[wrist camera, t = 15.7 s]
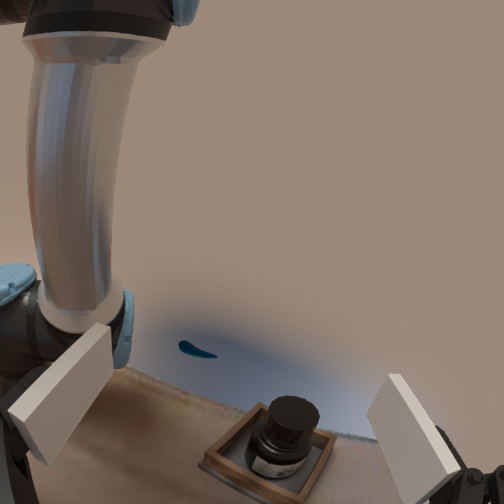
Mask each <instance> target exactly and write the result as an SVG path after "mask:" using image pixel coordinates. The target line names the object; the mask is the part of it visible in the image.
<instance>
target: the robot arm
mask: <svg viewBox="0 0 504 504" xmlns="http://www.w3.org/2000/svg"><path fill="white" fill-rule="evenodd" d="M199 1H200V0H0V25H8V24H14V23H23V22H26V25H25V29H24V33H23V37H22V40H21V42H22V43H23V45H24V46H25V47H26V48H27V50H28V51H29V52H30V53H31V55H32V56H33V59H34V62H35V63H34V69H33V75H32V80H31V87H30V96H29V104H28V116H27V137H26V138H27V139H26V165H27V184H28V197H29V206H30V215H31V223H32V229H33V235H34V241H35V246H36V251H37V256H38V261H39V265H40V270H41V274H42V278H43V279H42V281H41V280H37V279H36V278H37V273H36V272H35V269H34V268H33V266H30V265H29V264H25V263H10V264H4V265H0V504H39V501H38V498H37V495H36V491H35V488H34V484H33V480H32V476H31V472H30V467H29V462H28V458H27V455H26V453H27V452H28V450H30V451H31V453H32V455H33V456H34V458H36V459H37V460H39V461H41V462H42V463H44V464H45V465H47V466H49V467H51V466H52V464H53V462H54V461H55V459H56V458H57V456H58V454H59V453H60V451H61V450H62V448H63V447H64V445H65V444H66V442H67V440H68V439H69V437H70V436H71V434H72V433H73V431H74V430H75V428H76V427H77V425H78V424H79V422H80V421H81V419H82V418H83V416H84V415H85V413H86V412H87V410H88V409H89V408H90V406H91V405H92V403H93V402H94V400H95V399H96V397H97V396H98V395H99V393H100V392H101V390H102V389H103V387H104V386H105V385H106V383H107V382H108V380H109V379H110V378H111V376H112V375H113V373H114V369H121V368H123V367H125V366H126V365H127V363H128V361H129V357H130V352H131V344H132V340H131V337H132V333H133V322H134V296H133V293H132V292H131V291H129V290H126V289H124V288H122V283H121V281H120V279H119V278H118V276H117V275H116V274H115V272H114V271H113V270H112V269H111V241H112V240H111V239H112V217H113V203H114V190H115V181H116V173H117V164H118V157H119V150H120V143H121V137H122V132H123V127H124V121H125V116H126V111H127V106H128V102H129V98H130V93H131V89H132V85H133V81H134V77H135V74H136V70H137V67H138V65H139V63H140V61H141V60H142V59H143V58H144V57H146V56H147V55H149V54H151V53H152V52H154V51H155V50H157V49H158V48H160V47H162V46H163V45H164V44H165V41H166V39H167V36H168V34H169V31H170V28H171V26H172V25H175V26H178V27H181V26H188V25H190V24H191V23H192V22H193V20H194V17H195V15H196V12H197V8H198V5H199ZM51 362H54V363H53V364H52V363H51ZM366 415H367V417H368V419H369V421H370V424H371V426H372V428H373V430H374V433H375V435H376V438H377V440H378V442H379V445H380V447H381V450H382V452H383V454H384V457H385V459H386V462H387V464H388V467H389V469H390V472H391V474H392V477H393V479H394V482H395V484H396V487H397V489H398V492H399V494H400V497H401V500H402V502H403V504H423V503H424V502H425V501H426V500H428V499H429V501H430V503H429V504H488V503H489V502H490V501H491V504H504V465H500V466H499V467H498V468H497V469H496V470H495V471H494V472H493V473H489V474H483V473H482V472H481V471H480V470H478V469H476V468H470V469H468V468H467V467H466V465H465V464H464V462H463V460H462V459H461V457H460V456H459V454H458V452H457V451H456V449H455V448H454V447H453V445H452V443H451V441H449V438H448V437H447V435H446V434H445V432H444V431H443V430H442V429H440V428H439V427H438V426H434V424H433V423H432V421H431V420H430V418H429V416H428V415H427V414H426V412H425V410H424V409H423V408H422V406H421V404H420V403H419V401H418V400H417V398H416V397H415V395H414V394H413V393H412V391H411V390H410V388H409V387H408V385H407V384H406V382H405V381H404V379H403V378H402V377H401V375H400V374H388V375H387V376H386V379H385V380H384V382H383V384H382V386H381V388H380V390H379V392H378V394H377V395H376V397H375V399H374V401H373V402H372V404H371V406H370V407H369V409H368V411H367V413H366Z"/></svg>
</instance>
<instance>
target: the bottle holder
mask: <svg viewBox="0 0 504 504" xmlns="http://www.w3.org/2000/svg"><path fill="white" fill-rule="evenodd" d="M268 408H269V407H268V406H266V405H264V404H262V403H260V402H258V404H256V406H254V407H253V408H252V409H251V410H250V411H249V412H248V413H247V414H246V415H245V416H244V417H243V418H242V419H241V420H240V421H239V422H238V423H237V424H236V425H235V426H234V427H233V428H231V429H230V430H229V431H228V432H227V433H226V434H225V435H224V436H223V437H222V438H220V439H219V440H218V441H217V442H216V443H215V444H214V445H213V446H211V447H210V448H209V449H208V450H207V451H206V452H205V455H204V459H203V460H202V461H200V462H199V463H198V467H199V468H201V469H202V470H204V471H205V472H207V473H209V474H210V475H212V476H213V477H215V478H216V479H218V480H220V481H221V482H223V483H225V484H226V485H228V486H230V487H232V488H233V489H235V490H237V491H239V492H240V493H242V494H244V495H246V496H248V497H250V498H252V499H254V500H256V501H258V502H260V503H262V504H303V503H304V501H305V499H306V498H307V496H308V494H309V493H310V491H311V489H312V487H313V486H314V484H315V482H316V480H317V478H318V477H319V475H320V473H321V471H322V469H323V467H324V465H325V463H326V461H327V459H328V457H329V455H330V453H331V451H332V449H333V445H334V443H335V441H336V439H337V436H334V435H332V434H329V433H327V432H324V431H322V430H319V429H317V428H315V430H314V431H313V433H312V438H313V446H312V449H311V451H310V453H309V454H308V456H307V457H306V459H305V461H304V462H303V464H302V465H301V467H300V468H299V469H298V471H297V472H296V473H295V474H293V475H292V476H290V477H288V478H284V479H279V480H271V479H265V478H262V477H260V476H258V475H256V474H255V473H254V472H252V471H251V470H250V468H249V467H248V465H247V463H246V461H245V450H246V447H247V444H248V442H249V439H250V436H251V433H252V430H253V428H254V427H255V425H256V424H257V423H258V422H260V421H261V420H263V419H265V417H266V414H267V411H268Z"/></svg>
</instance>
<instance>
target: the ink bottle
mask: <svg viewBox="0 0 504 504" xmlns="http://www.w3.org/2000/svg"><path fill="white" fill-rule="evenodd" d="M319 418H320V415H319V413H318V409H316V407H315V406H314V405H313V404H312V403H310V402H309V401H307V400H306V399H303V398H300V397H297V396H283V397H278V398H277V399H275V400H274V401H272V403H271V405H270V406H269V408H268V411H267V414H266V417H265V419H263V420H261V421H260V422H258V423H257V424H256V425H255V427H254V428H253V430H252V433H251V436H250V439H249V442H248V444H247V447H246V450H245V461H246V463H247V465H248V467H249V468H250V470H251V471H252V472H254V473H255V474H256V475H258V476H260V477H262V478H265V479H271V480H279V479H284V478H288V477H290V476H292V475H293V474H295V473H296V472H297V471H298V469H299V468H300V467H301V465H302V464H303V462H304V461H305V459H306V457H307V456H308V454H309V453H310V451H311V449H312V446H313V438H312V433H313V431H314V430H315V428H316V426H317V424H318V421H319Z"/></svg>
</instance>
